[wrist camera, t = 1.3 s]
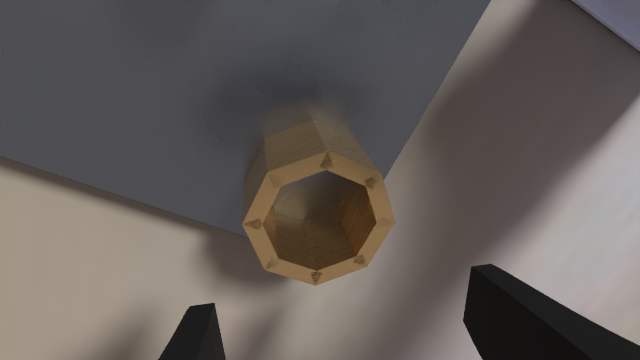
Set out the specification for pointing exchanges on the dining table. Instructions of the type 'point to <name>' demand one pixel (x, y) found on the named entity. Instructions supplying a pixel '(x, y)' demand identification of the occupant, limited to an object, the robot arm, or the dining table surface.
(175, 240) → the dining table surface
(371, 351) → the dining table surface
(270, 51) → the plate
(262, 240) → the wooden octagonal tube
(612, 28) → the robot arm
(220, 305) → the dining table surface
